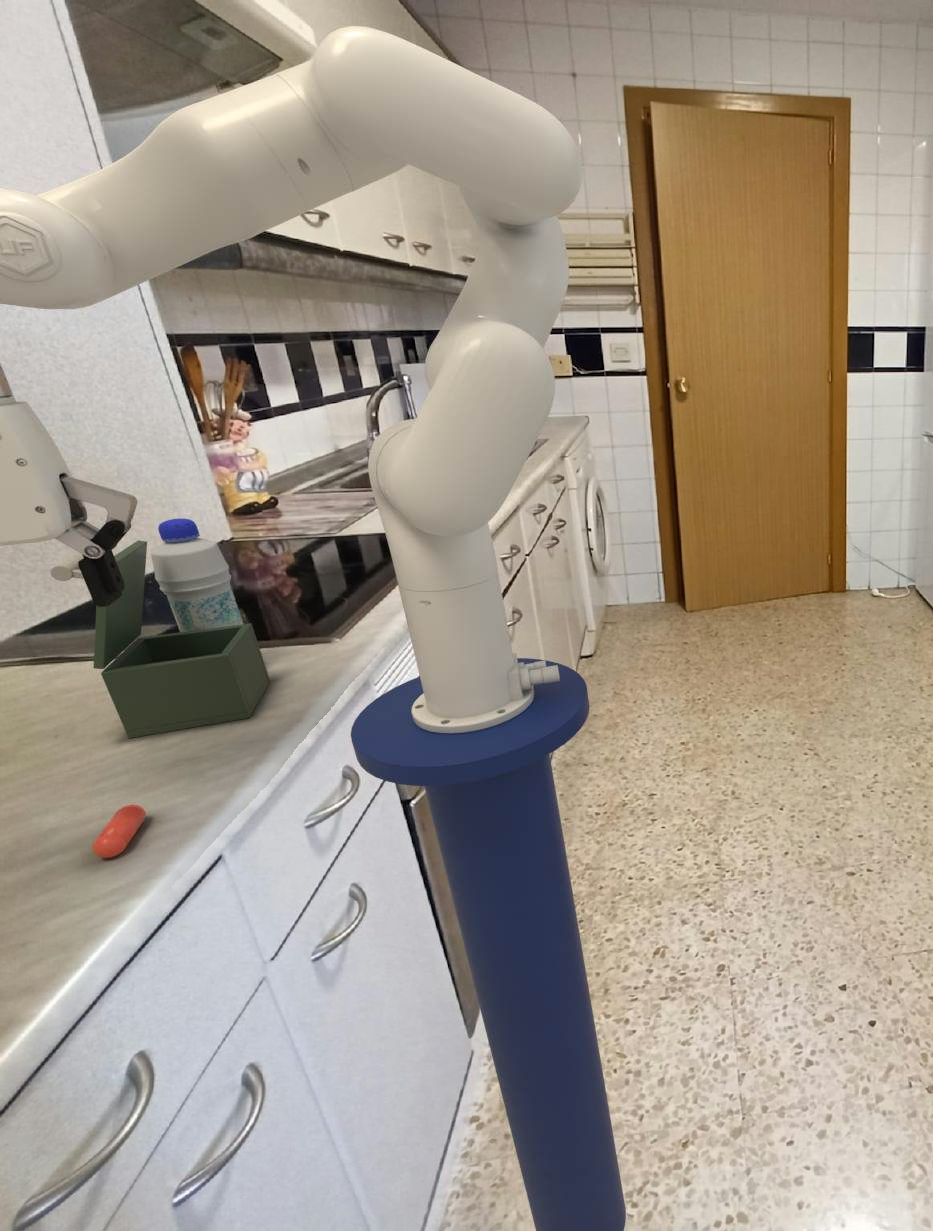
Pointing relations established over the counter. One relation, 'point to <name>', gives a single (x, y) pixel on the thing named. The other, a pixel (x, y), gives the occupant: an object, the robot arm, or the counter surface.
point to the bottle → (194, 578)
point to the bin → (187, 679)
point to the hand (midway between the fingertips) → (31, 610)
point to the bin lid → (115, 603)
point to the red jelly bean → (119, 831)
